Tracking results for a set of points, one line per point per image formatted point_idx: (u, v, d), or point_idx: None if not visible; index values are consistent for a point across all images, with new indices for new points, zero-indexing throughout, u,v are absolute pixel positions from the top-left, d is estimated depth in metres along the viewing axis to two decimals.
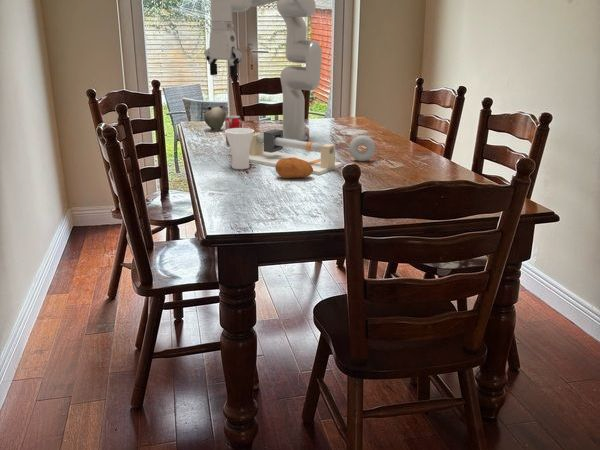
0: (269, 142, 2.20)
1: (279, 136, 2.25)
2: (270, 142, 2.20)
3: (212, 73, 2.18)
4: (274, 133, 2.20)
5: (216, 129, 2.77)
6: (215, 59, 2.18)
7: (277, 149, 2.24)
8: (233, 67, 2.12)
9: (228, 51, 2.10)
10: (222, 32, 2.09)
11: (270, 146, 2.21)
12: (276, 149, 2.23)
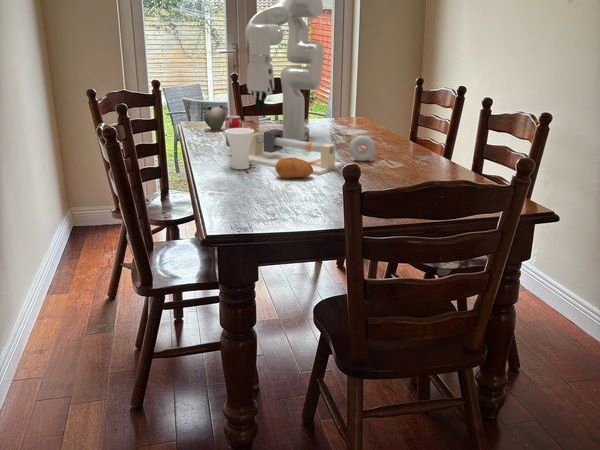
0: (269, 142, 2.20)
1: (279, 136, 2.25)
2: (270, 142, 2.20)
3: None
4: (274, 133, 2.20)
5: (216, 129, 2.77)
6: (258, 93, 2.22)
7: (277, 149, 2.24)
8: (261, 101, 2.20)
9: (266, 83, 2.15)
10: (260, 65, 2.14)
11: (270, 146, 2.21)
12: (276, 149, 2.23)
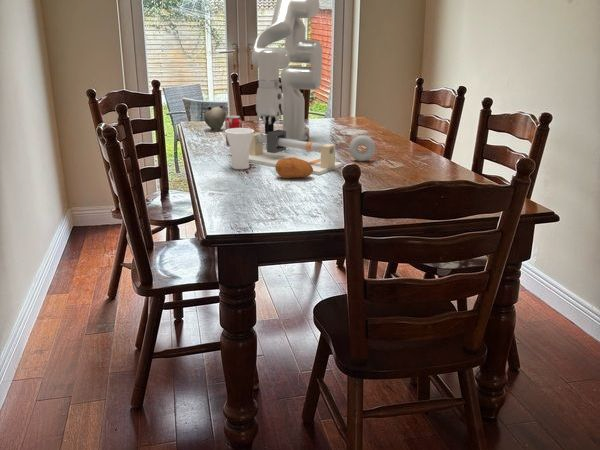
0: (272, 142, 2.19)
1: (282, 136, 2.24)
2: (273, 143, 2.19)
3: None
4: (277, 133, 2.20)
5: (216, 129, 2.77)
6: (268, 117, 2.23)
7: (280, 150, 2.23)
8: (270, 125, 2.22)
9: (275, 108, 2.16)
10: (269, 90, 2.15)
11: (273, 147, 2.20)
12: (279, 150, 2.23)
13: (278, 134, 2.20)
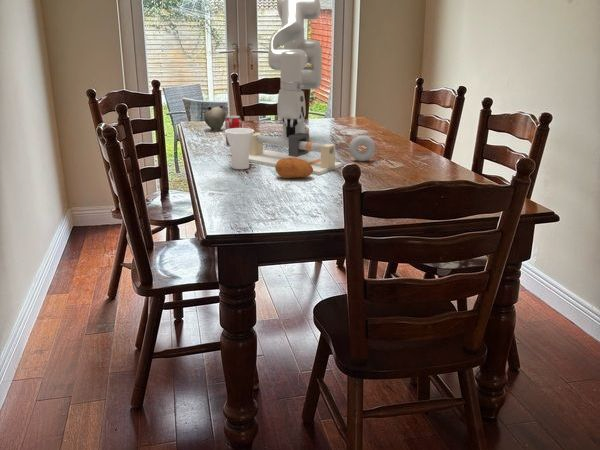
0: (294, 146, 2.14)
1: (304, 140, 2.19)
2: (295, 146, 2.14)
3: (288, 135, 2.18)
4: (299, 137, 2.14)
5: (216, 129, 2.77)
6: (289, 120, 2.18)
7: (302, 153, 2.18)
8: (292, 128, 2.16)
9: (297, 111, 2.11)
10: (292, 92, 2.10)
11: (295, 150, 2.15)
12: (301, 153, 2.17)
13: (300, 137, 2.15)
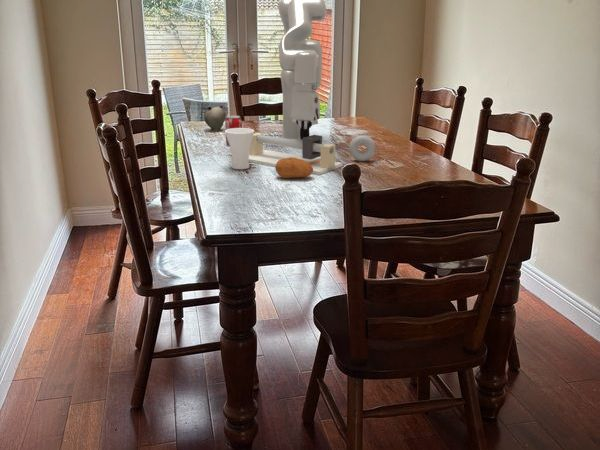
0: (308, 148, 2.11)
1: (318, 142, 2.15)
2: (309, 148, 2.11)
3: (302, 137, 2.14)
4: (314, 139, 2.11)
5: (216, 129, 2.77)
6: (303, 122, 2.15)
7: (316, 156, 2.14)
8: (306, 130, 2.13)
9: (312, 113, 2.08)
10: (306, 94, 2.07)
11: (309, 153, 2.11)
12: (315, 156, 2.14)
13: (314, 139, 2.11)
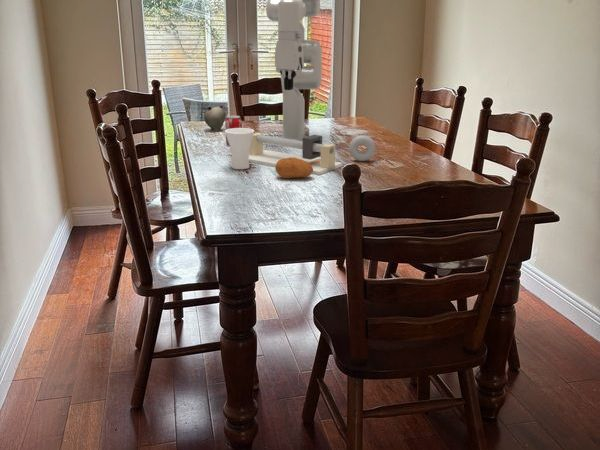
0: (308, 148, 2.11)
1: (318, 142, 2.15)
2: (310, 148, 2.11)
3: (286, 88, 2.14)
4: (314, 139, 2.11)
5: (216, 129, 2.77)
6: (287, 72, 2.14)
7: (316, 156, 2.14)
8: (290, 80, 2.13)
9: (295, 62, 2.08)
10: (290, 42, 2.06)
11: (309, 153, 2.11)
12: (315, 156, 2.14)
13: (314, 139, 2.11)
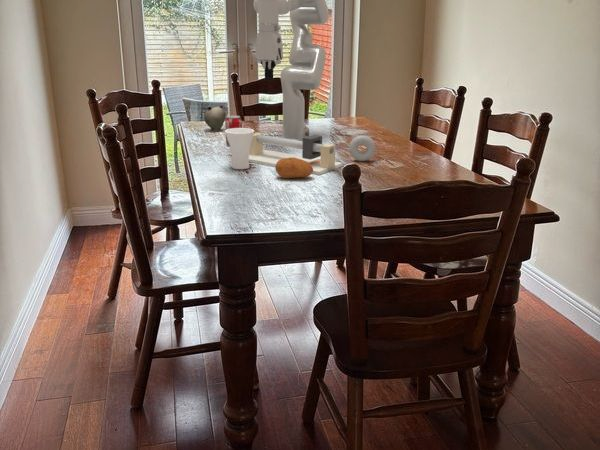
0: (308, 148, 2.11)
1: (318, 142, 2.15)
2: (310, 148, 2.11)
3: None
4: (314, 139, 2.11)
5: (216, 129, 2.77)
6: (267, 62, 2.26)
7: (316, 156, 2.14)
8: (270, 70, 2.24)
9: (275, 52, 2.19)
10: (269, 34, 2.18)
11: (309, 153, 2.11)
12: (315, 156, 2.14)
13: (314, 139, 2.11)
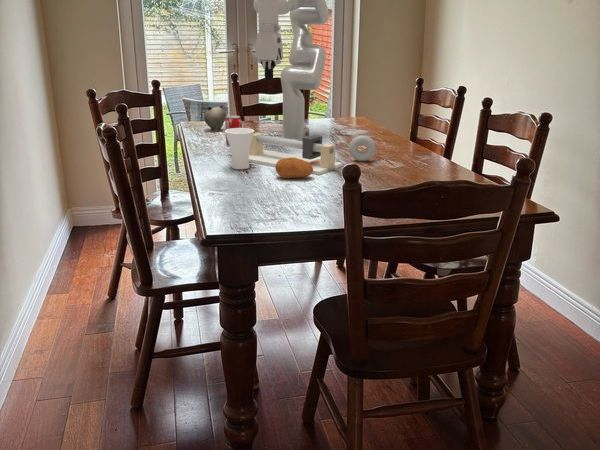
0: (308, 148, 2.11)
1: (318, 142, 2.15)
2: (310, 148, 2.11)
3: None
4: (314, 139, 2.11)
5: (216, 129, 2.77)
6: (267, 62, 2.26)
7: (316, 156, 2.14)
8: (270, 70, 2.24)
9: (275, 52, 2.19)
10: (269, 34, 2.18)
11: (309, 153, 2.11)
12: (315, 156, 2.14)
13: (314, 139, 2.11)
